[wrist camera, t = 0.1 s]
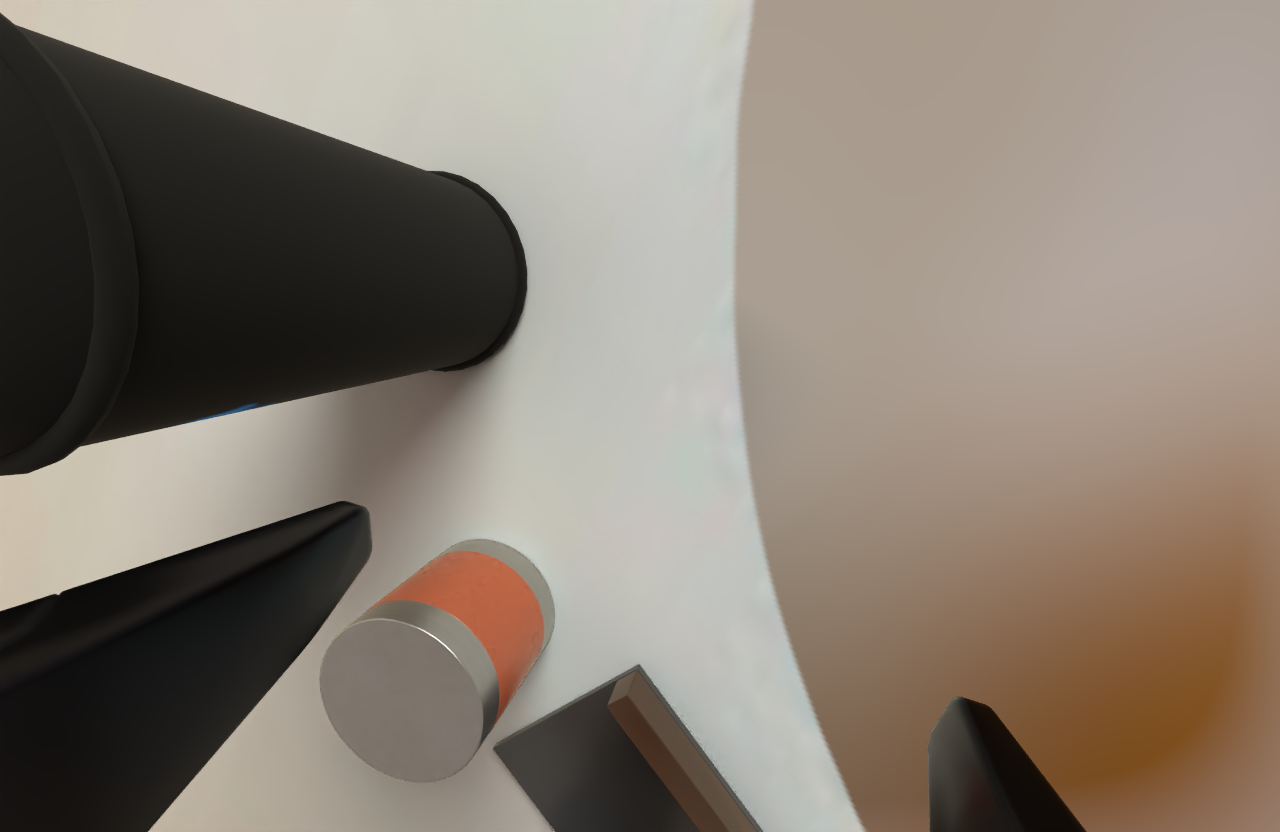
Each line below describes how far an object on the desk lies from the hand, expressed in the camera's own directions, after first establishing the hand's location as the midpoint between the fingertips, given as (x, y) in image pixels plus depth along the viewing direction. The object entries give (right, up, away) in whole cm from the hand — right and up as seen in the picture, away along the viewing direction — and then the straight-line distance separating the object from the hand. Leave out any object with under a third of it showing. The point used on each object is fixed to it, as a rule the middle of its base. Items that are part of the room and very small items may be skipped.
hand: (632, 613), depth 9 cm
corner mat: (+1, -17, +19) cm, 25 cm away
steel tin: (-7, -6, +19) cm, 21 cm away
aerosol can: (-8, +9, +16) cm, 21 cm away
